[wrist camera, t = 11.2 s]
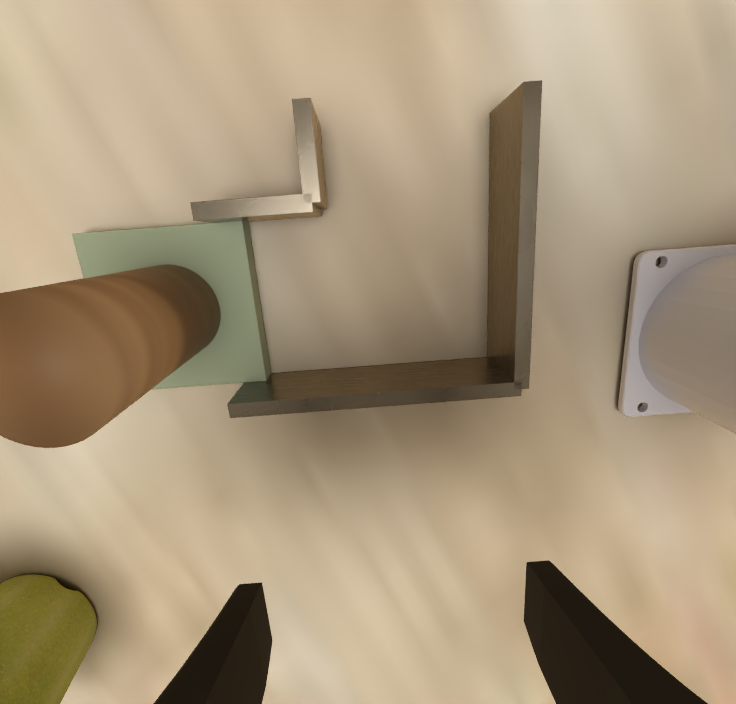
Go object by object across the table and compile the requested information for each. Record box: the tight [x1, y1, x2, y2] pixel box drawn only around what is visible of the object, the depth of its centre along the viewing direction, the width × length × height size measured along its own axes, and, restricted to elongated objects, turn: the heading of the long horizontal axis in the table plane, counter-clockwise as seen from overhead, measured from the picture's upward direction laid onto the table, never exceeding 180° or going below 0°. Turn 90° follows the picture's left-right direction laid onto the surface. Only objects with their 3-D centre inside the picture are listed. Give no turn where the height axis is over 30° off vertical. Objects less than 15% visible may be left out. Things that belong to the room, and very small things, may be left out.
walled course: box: [190, 81, 542, 418], centre depth 16 cm, size 12×11×4 cm
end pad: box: [72, 221, 271, 389], centre depth 18 cm, size 7×7×1 cm
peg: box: [0, 264, 221, 448], centre depth 14 cm, size 4×4×8 cm
